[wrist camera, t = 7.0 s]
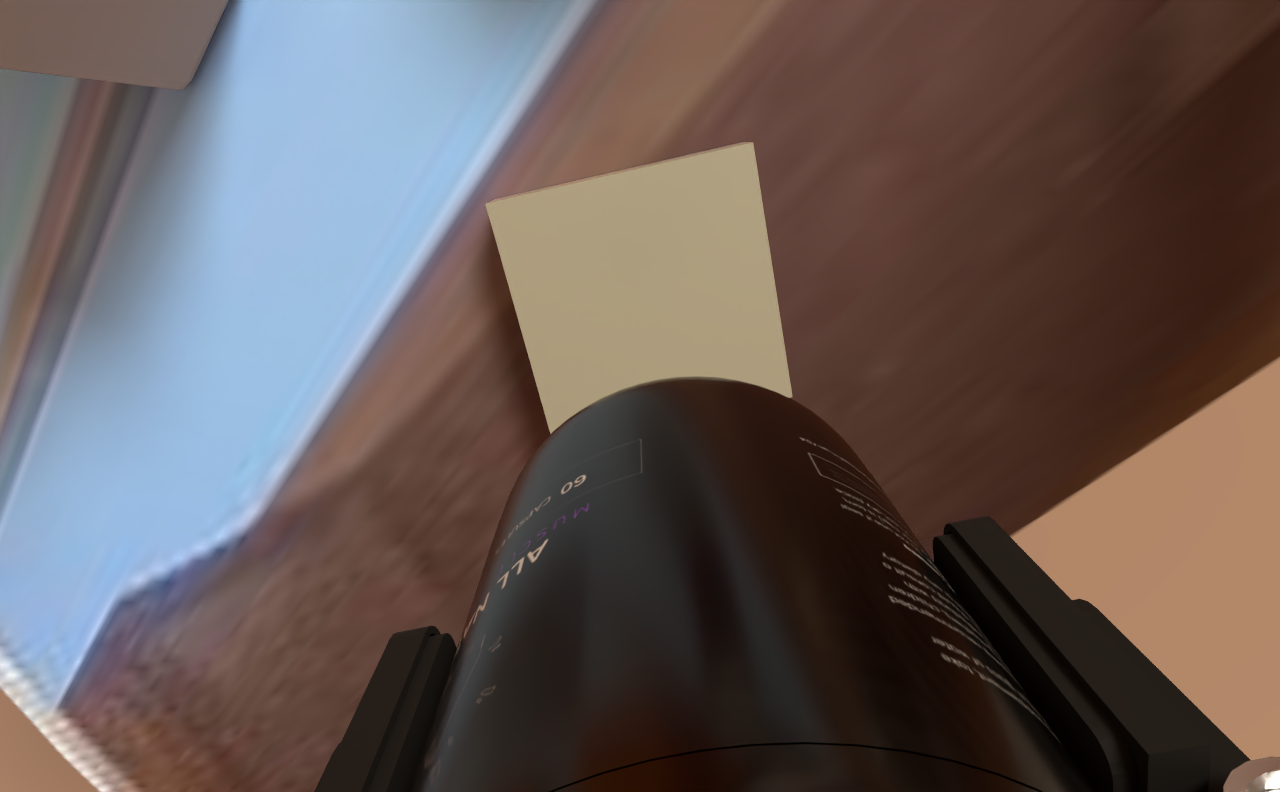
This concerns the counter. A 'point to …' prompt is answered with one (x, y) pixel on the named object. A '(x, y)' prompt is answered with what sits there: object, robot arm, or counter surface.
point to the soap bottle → (109, 38)
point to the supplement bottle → (722, 622)
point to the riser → (644, 278)
